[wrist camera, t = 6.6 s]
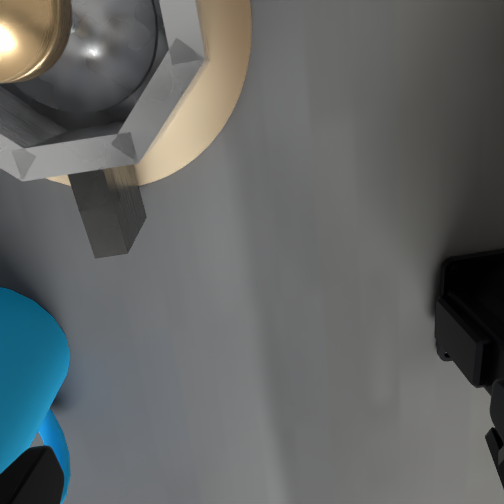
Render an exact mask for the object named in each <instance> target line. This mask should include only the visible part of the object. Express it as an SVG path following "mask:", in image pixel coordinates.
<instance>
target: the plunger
mask: <svg viewBox="0 0 504 504" xmlns="http://www.w3.org/2000/svg"><path fill="white" fill-rule="evenodd" d="M158 36H159V32H158V18H157V12H156V7H155V4H154V0H0V84H1V83H13V84H14V85H15V86H16V87H18V88H19V89H20V90H21V91H23V92H24V93H25V94H27V95H28V96H30V97H31V98H33V99H35V100H36V101H38V102H40V103H42V104H44V105H47V106H49V107H52V108H55V109H58V110H62V111H67V112H76V113H86V112H95V111H99V110H103V109H106V108H109V107H112V106H114V105H117V104H119V103H121V102H122V101H124V100H126V99H127V98H128V97H130V96H131V95H132V94H134V93H135V92H136V91H137V89H138V88H139V87H140V86H141V85H142V84H143V82H144V81H145V79H146V78H147V76H148V74H149V72H150V70H151V68H152V66H153V63H154V60H155V57H156V52H157V47H158Z"/></svg>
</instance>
